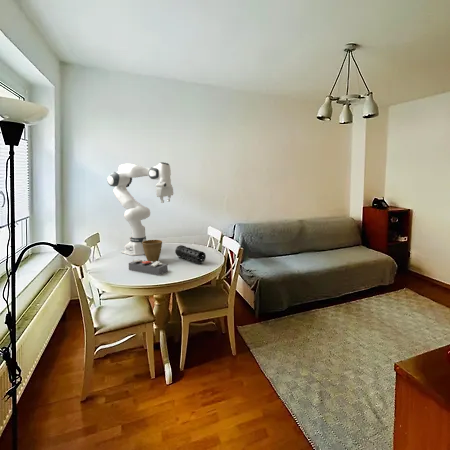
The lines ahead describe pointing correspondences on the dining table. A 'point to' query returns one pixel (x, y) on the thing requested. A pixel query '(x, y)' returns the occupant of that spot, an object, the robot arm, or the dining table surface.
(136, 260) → the left rocker
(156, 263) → the right rocker
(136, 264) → the switch strip
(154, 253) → the plant pot
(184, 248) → the muzzle brake
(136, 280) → the dining table surface
